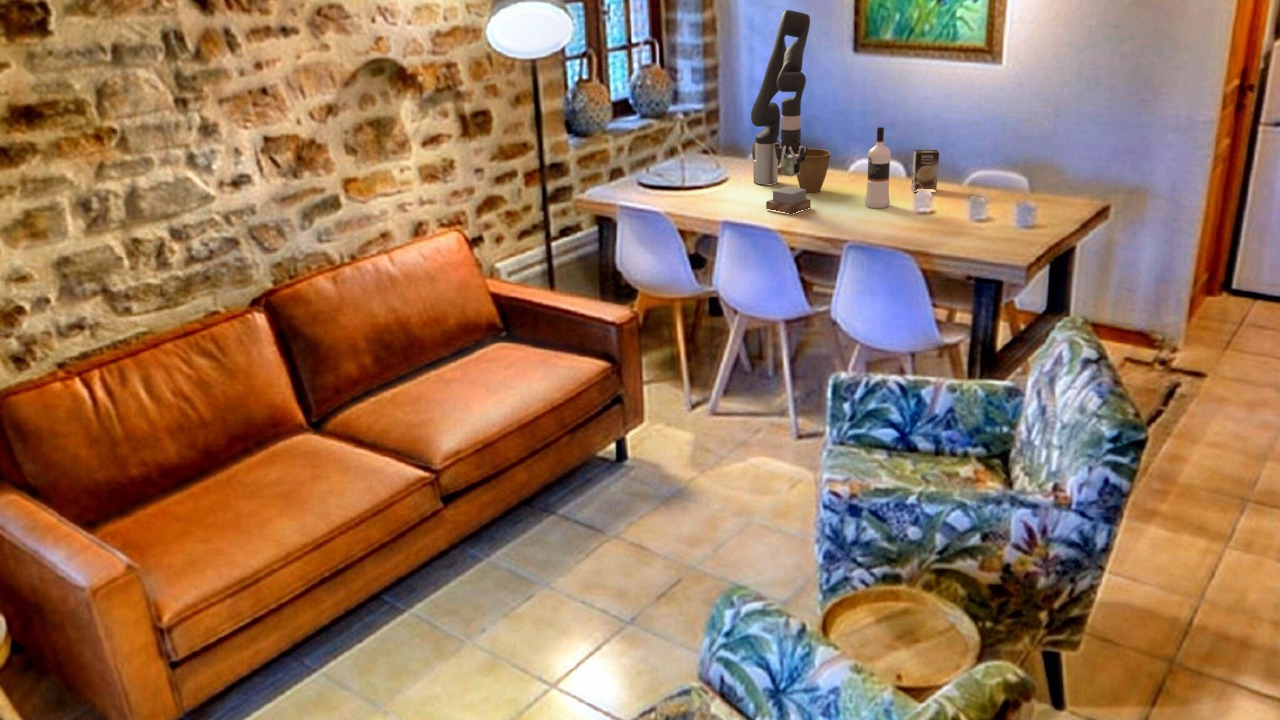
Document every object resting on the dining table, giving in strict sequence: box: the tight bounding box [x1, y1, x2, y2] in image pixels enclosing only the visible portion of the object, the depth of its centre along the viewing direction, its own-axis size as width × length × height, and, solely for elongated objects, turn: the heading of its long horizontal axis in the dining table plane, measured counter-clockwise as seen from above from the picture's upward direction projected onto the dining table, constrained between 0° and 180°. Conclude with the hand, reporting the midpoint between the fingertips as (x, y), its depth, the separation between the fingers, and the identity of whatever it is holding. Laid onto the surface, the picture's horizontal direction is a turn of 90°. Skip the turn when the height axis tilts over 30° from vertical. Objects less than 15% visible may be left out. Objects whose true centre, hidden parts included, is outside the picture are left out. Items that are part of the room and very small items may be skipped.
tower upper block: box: [772, 185, 807, 205], centre depth 407 cm, size 9×9×4 cm
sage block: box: [780, 156, 800, 177], centre depth 403 cm, size 5×5×6 cm
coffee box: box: [910, 149, 940, 193], centre depth 423 cm, size 9×6×16 cm
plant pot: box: [795, 148, 832, 194], centre depth 430 cm, size 15×15×16 cm
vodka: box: [864, 126, 892, 210], centre depth 403 cm, size 9×9×30 cm
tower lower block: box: [765, 198, 812, 214], centre depth 409 cm, size 12×12×4 cm
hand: (790, 172), depth 404 cm, fingers closed on sage block, 5 cm apart
